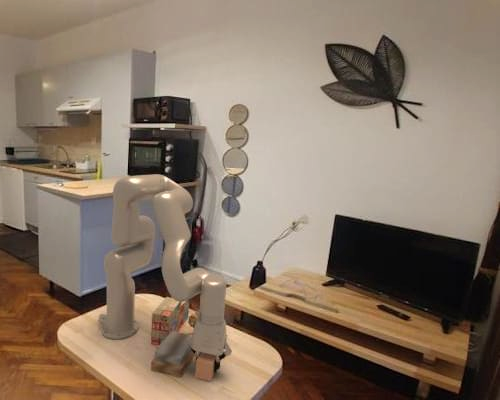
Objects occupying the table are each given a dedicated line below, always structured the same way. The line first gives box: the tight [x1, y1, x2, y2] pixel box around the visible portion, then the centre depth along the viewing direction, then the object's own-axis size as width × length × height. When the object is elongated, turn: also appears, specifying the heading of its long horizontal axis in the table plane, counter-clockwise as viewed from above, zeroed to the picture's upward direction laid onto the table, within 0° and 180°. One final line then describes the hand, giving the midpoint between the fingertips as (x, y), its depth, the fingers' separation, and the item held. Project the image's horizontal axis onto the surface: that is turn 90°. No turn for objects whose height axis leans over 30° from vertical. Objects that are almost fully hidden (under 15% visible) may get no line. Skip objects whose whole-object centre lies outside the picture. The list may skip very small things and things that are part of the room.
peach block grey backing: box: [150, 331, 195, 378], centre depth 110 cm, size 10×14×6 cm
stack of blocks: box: [150, 296, 190, 347], centre depth 126 cm, size 21×6×12 cm, turn 171°
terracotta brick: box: [195, 352, 216, 382], centre depth 106 cm, size 5×8×6 cm, turn 168°
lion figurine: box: [187, 313, 228, 337], centre depth 124 cm, size 15×5×9 cm, turn 96°
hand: (207, 367), depth 106 cm, fingers closed on terracotta brick, 4 cm apart
